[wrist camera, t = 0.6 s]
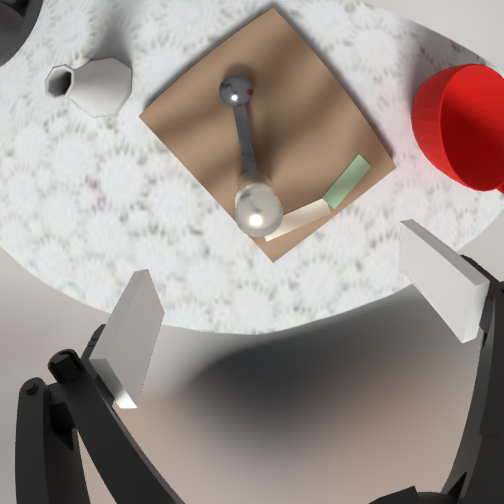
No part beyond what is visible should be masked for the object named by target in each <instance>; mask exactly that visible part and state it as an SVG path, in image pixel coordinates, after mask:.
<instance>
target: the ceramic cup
mask: <svg viewBox="0 0 504 504" xmlns="http://www.w3.org/2000/svg"><path fill="white" fill-rule="evenodd" d="M411 121H412V129H413V132H414V136H415V139H416V141H417V143H418V145H419V147H420V149H421V150H422V152H423V153H424V155H425V156H426V158H427V159H428V160H429V161H430V162H431V163H432V164H433V165H434V166H435V167H436V168H437V169H439V170H440V171H442V172H443V173H444V174H446V175H447V176H449V177H450V178H452V179H453V180H455V181H457V182H459V183H460V184H462V185H464V186H466V187H469V188H471V189H473V190H477V191H490V190H494V189H497V190H499V191H500V192H501V193H503V194H504V78H503V77H502V76H501V75H500V74H498V73H497V72H496V71H494V70H493V69H491V68H489V67H487V66H484V65H479V64H466V65H460V66H455V67H451V68H448V69H445V70H443V71H441V72H439V73H437V74H435V75H433V76H431V77H430V78H429V79H428V80H427V81H426V82H425V83H424V84H423V85H422V86H421V88H420V89H419V90H418V92H417V94H416V96H415V99H414V101H413V106H412V112H411Z"/></svg>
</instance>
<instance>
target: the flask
mask: <svg viewBox="0 0 504 504" xmlns="http://www.w3.org/2000/svg"><path fill="white" fill-rule="evenodd" d="M131 72H132V69H131V68H129V67H128V66H126V65H124V64H123V63H121V62H120V61H118V60H117V59H115V58H113V57H112V58H106V59H101V60H95V61H90V62H88V63H86V64H85V65H83V66H81V67H79V68H77V69H72V68H71V67H69V66H68V65H66V64H64V65H60V66H56V67H53V68H52V70H51V71H50V73H49V75H48V77H47V78H46V83H45V94H46V95H48V96H49V97H51V98H52V99H54V100H58V99H63V98H70V99H71V100H72V101H73V103H74V104H75V105H76V106H77V107H79V108H80V109H82V110H83V111H84V112H86V113H87V114H89V115H90V116H92V117H93V118H98V117H106V116H115V115H117V114H118V112H119V110H120V109H121V107H122V106H123V105H124V103H125V102H126V100H127V99H128V97H129V96H130V94H131Z"/></svg>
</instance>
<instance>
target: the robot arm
mask: <svg viewBox="0 0 504 504" xmlns="http://www.w3.org/2000/svg"><path fill="white" fill-rule="evenodd" d="M41 2H42V0H0V66H2V65H3V64H5V63H6V62H7V61H8V60H10V59H11V58H12V57H13V56H14V55H15V54H16V52H17V51H18V50H19V49H20V48H21V46H22V45H23V43H24V42H25V41H26V39H27V37H28V36H29V34H30V32H31V30H32V29H33V27H34V24H35V22H36V20H37V17H38V14H39V11H40V7H41ZM399 268H400V269H401V271H402V272H403V273H404V274H405V275H406V276H407V277H408V278H409V280H410V281H411V282H412V283H413V284H414V285H415V286H416V287H417V289H418V290H419V291H420V292H421V293H422V294H423V296H424V297H425V298H426V299H427V300H428V301H429V303H430V304H431V305H432V306H433V308H434V309H435V310H436V311H437V312H438V314H439V315H440V316H441V317H442V318H443V320H444V321H445V322H446V323H447V325H448V326H449V327H450V328H451V330H452V331H453V332H454V333H455V335H456V336H457V337H458V339H459V340H460V341H461V342H462V343H464V342H467V341H469V340H472V339H474V338H476V336H477V332H478V329H479V326H480V327H481V329H483V331H484V333H483V337H482V340H481V344H480V346H479V349H478V352H480V357H479V364H478V370H477V376H476V381H475V386H474V391H473V396H472V400H471V405H470V409H469V413H468V417H467V421H466V425H465V428H464V432H463V436H462V439H461V443H460V446H459V449H458V452H457V455H456V458H455V461H454V464H453V467H452V470H451V472H450V475H449V477H448V479H447V481H446V483H445V485H444V487H443V488H442V491H441V492H440V493H437V492H417V491H416V489H415V486H412V487H409V488H407V489H404V490H401V491H398V492H395V493H392V494H389V495H386V496H383V497H380V498H378V499H376V500H375V501H373V502H371V503H369V504H504V281H502V282H499V281H498V280H497V279H495V278H494V277H493V276H492V275H491V274H490V273H488V272H487V271H486V270H484V269H483V268H482V267H481V266H480V265H478V264H477V263H476V262H475V261H474V260H472V259H471V258H469V257H467V256H464V255H458V254H457V253H456V252H455V251H453V250H452V249H451V248H450V247H448V246H447V245H446V244H445V243H443V242H442V241H441V240H439V239H438V238H437V237H435V236H434V235H433V234H432V233H430V232H429V231H428V230H426V229H425V228H424V227H422V226H421V225H419V224H418V223H417V222H415V221H414V220H413V219H411V220H406V221H400V263H399ZM163 316H164V311H163V308H162V305H161V303H160V300H159V298H158V295H157V292H156V290H155V287H154V284H153V282H152V279H151V276H150V274H149V271H148V269H146V270H141V271H136V272H134V274H133V276H132V277H131V279H130V281H129V283H128V285H127V286H126V288H125V290H124V292H123V294H122V295H121V297H120V299H119V301H118V303H117V305H116V307H115V308H114V310H113V312H112V314H111V316H110V318H109V320H108V322H107V324H103V325H101V326H100V327H99V328H98V329H97V330H96V331H95V332H94V334H93V336H92V337H91V341H89V343H88V345H87V347H86V349H85V351H84V353H83V355H82V357H81V359H80V358H79V357H78V355H77V353H76V352H75V351H74V350H72V349H65V350H62V351H60V352H58V353H57V354H55V355H54V356H53V357H52V358H51V359H50V361H49V363H48V369H49V371H50V372H51V373H52V375H53V376H54V378H55V379H56V381H57V383H53V384H50V385H46V384H45V382H44V381H43V380H42V379H41V378H38V377H36V378H32V379H30V380H28V381H26V382H25V383H24V384H23V386H22V388H21V389H20V392H19V401H18V410H17V423H16V443H15V444H16V445H15V481H16V500H17V504H91V503H90V499H89V495H88V490H87V486H86V481H85V476H84V471H83V466H82V460H81V455H80V448H79V441H78V435H77V430H78V432H79V434H80V436H81V438H82V441H83V443H84V445H85V447H86V449H87V451H88V453H89V455H90V457H91V459H92V461H93V463H94V465H95V467H96V468H97V470H98V472H99V474H100V475H101V478H102V479H103V481H104V483H105V485H106V486H107V488H108V490H109V491H110V493H111V495H112V496H113V498H114V499H115V501H116V503H117V504H185V503H184V502H183V501H182V500H181V498H180V497H179V496H178V495H177V494H176V493H175V492H174V490H173V489H172V488H171V487H170V486H169V484H168V483H167V482H166V481H165V479H164V478H163V477H162V476H161V474H160V473H159V472H158V471H157V470H156V468H155V467H154V466H153V464H152V463H151V462H150V460H149V459H148V458H147V457H146V455H145V454H144V452H143V451H142V450H141V448H140V447H139V445H138V444H137V443H136V441H135V440H134V438H133V437H132V436H131V434H130V433H129V431H128V430H127V428H126V427H125V426H124V424H123V422H122V421H121V419H120V418H119V417H118V415H117V413H116V412H115V410H114V409H113V408H112V405H113V402H114V399H115V401H116V402H117V404H118V405H119V406H120V408H137V407H138V403H139V399H140V396H141V392H142V388H143V384H144V380H145V377H146V374H147V370H148V367H149V363H150V360H151V356H152V353H153V349H154V346H155V342H156V339H157V336H158V332H159V329H160V326H161V323H162V319H163Z"/></svg>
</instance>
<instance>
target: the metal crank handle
mask: <svg viewBox="0 0 504 504" xmlns="http://www.w3.org/2000/svg"><path fill="white" fill-rule="evenodd" d="M219 94H220V97H221V99H222V100H223V101H224V102H225V103H226V104H227V105H229V106H232V107H233V111H234V116H235V122H236V127H237V132H238V138H239V143H240V148H241V154H242V159H243V164H244V170H245V173H244V174H242V175H241V176H240V178H239V179H238V181H237V184H236V199H235V220H236V223H237V225H238V227H239V228H240V229H241V230H242V231H243V232H244V233H246V234H247V235H250V236H253V237H264V236H268V235H270V234H272V233H273V232H275V231H276V230H277V229H278V228H279V226H280V224H281V222H282V220H283V208H282V205H281V203H280V201H279V199H278V196H277V194H276V192H275V190H274V188H273V186H272V183H271V181H270V179H269V178H268V176H267V175H265V174H264V173H262V172H260V171H257V168H256V163H255V157H254V151H253V146H252V140H251V135H250V129H249V124H248V118H247V113H246V107H245V104H246V103H247V102H248V101H249V100H250V99H251V97H252V94H253V87H252V84H251V82H250V81H249V80H248V79H247V78H245V77H244V76H241V75H232V76H229V77H227V78H225V79H224V80H223V81H222V83H221V85H220V88H219Z"/></svg>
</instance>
